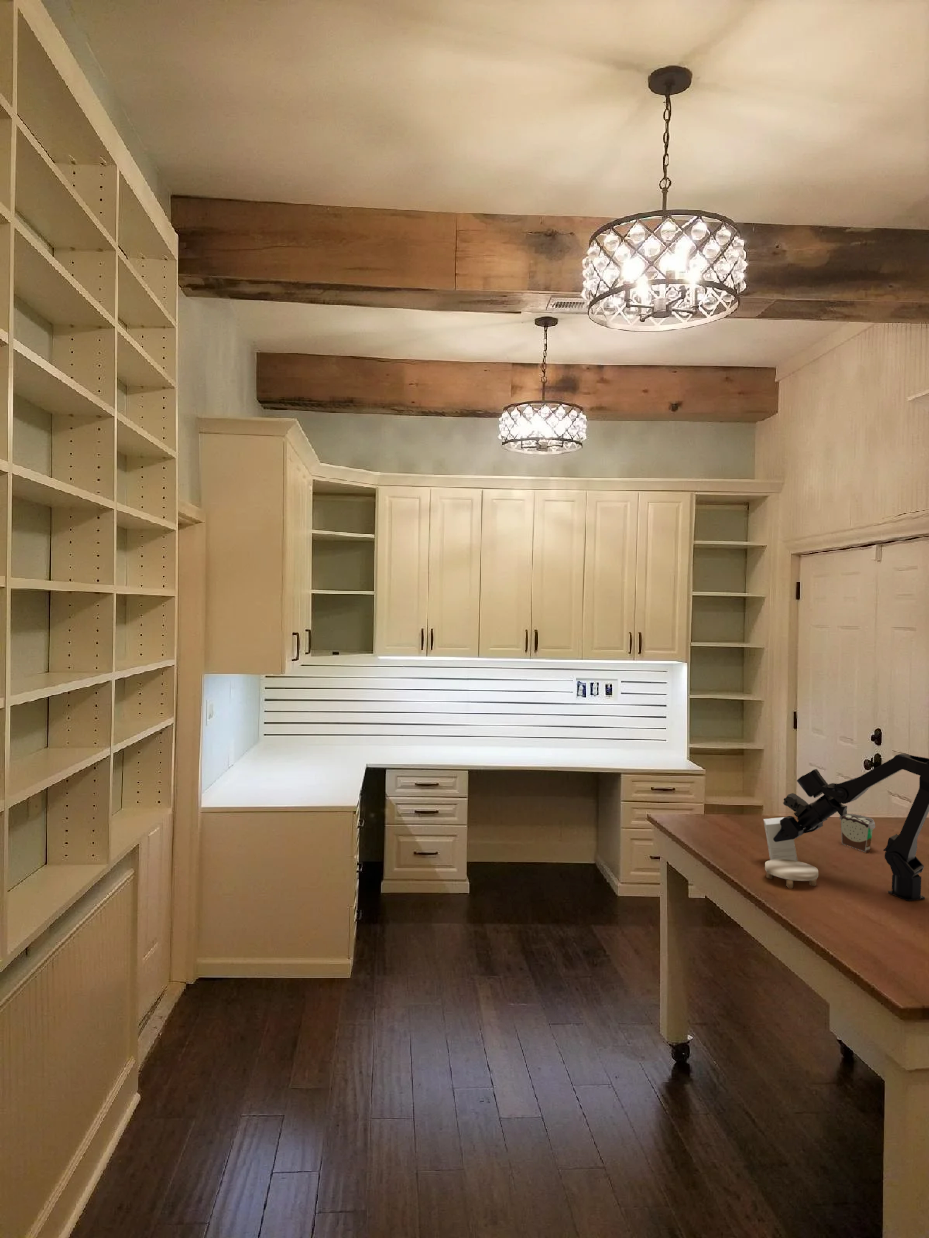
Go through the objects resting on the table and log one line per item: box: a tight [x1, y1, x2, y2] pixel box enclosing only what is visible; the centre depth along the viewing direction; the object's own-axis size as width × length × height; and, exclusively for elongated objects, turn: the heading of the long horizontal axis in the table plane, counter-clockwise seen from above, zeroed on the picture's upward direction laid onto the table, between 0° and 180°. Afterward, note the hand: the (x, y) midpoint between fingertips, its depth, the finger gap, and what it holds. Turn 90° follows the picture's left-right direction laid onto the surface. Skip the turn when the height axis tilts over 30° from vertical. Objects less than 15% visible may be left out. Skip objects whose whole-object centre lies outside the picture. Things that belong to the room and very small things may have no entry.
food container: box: [838, 813, 876, 853], centre depth 259 cm, size 12×6×10 cm, turn 22°
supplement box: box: [762, 816, 798, 861], centre depth 240 cm, size 7×7×13 cm
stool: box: [764, 859, 819, 889], centre depth 224 cm, size 14×14×4 cm
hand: (781, 837), depth 240 cm, fingers open, 9 cm apart
